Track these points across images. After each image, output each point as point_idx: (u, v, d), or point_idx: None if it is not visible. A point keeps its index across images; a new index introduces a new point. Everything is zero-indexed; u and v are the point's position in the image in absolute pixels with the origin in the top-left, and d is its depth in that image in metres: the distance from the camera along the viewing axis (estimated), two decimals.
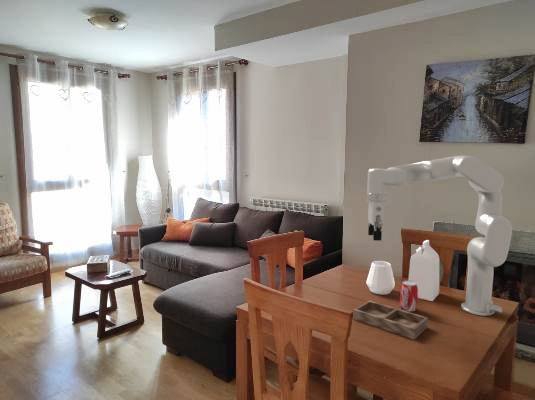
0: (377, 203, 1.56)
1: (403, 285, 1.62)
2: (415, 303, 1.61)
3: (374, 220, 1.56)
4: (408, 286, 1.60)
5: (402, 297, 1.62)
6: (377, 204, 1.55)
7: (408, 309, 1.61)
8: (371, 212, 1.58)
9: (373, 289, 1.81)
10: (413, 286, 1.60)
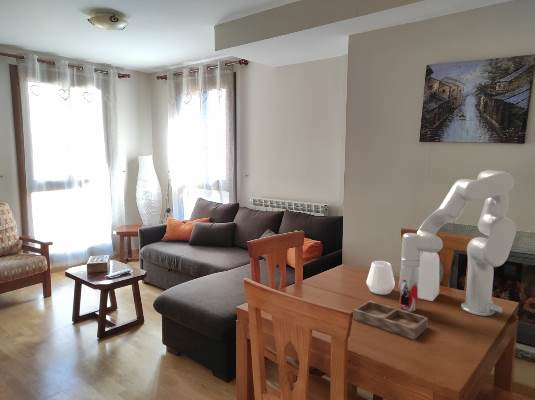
0: None
1: None
2: (415, 303, 1.61)
3: None
4: None
5: None
6: None
7: (408, 309, 1.61)
8: (417, 275, 1.62)
9: (373, 289, 1.81)
10: (413, 286, 1.60)
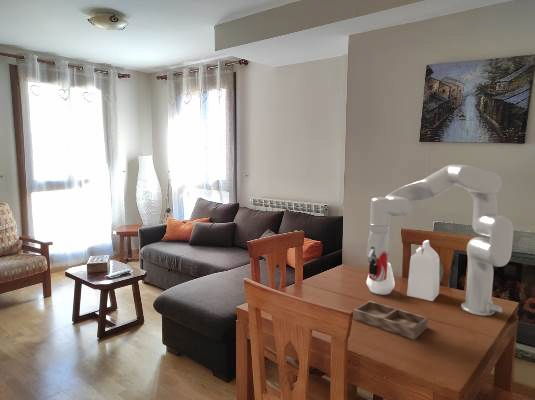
0: None
1: None
2: (384, 272, 1.50)
3: None
4: None
5: None
6: None
7: (377, 278, 1.50)
8: (387, 242, 1.51)
9: (373, 289, 1.81)
10: (382, 254, 1.49)
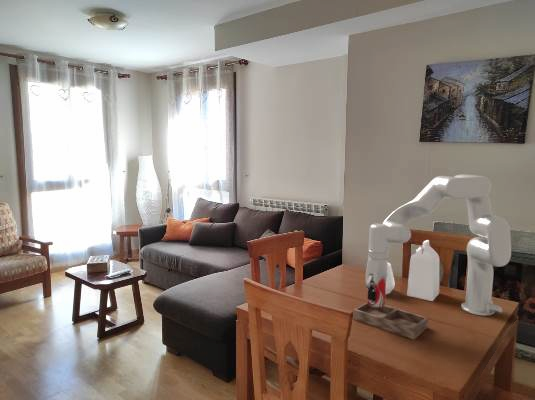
0: None
1: None
2: (382, 298, 1.51)
3: None
4: None
5: None
6: None
7: (375, 304, 1.51)
8: (386, 268, 1.53)
9: None
10: (380, 280, 1.50)
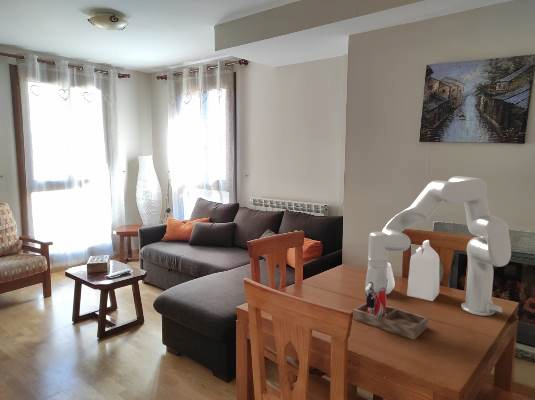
0: None
1: None
2: (383, 309, 1.51)
3: None
4: None
5: None
6: None
7: None
8: (385, 276, 1.53)
9: None
10: (381, 291, 1.51)
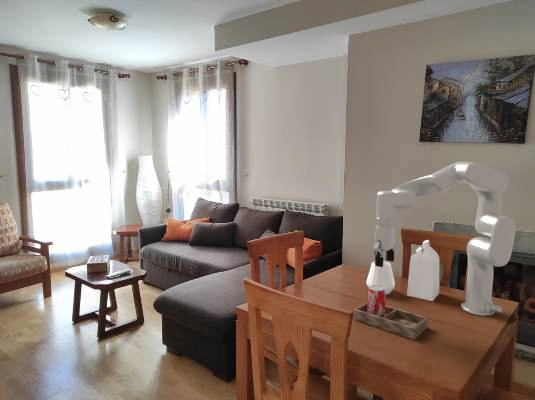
0: None
1: (370, 290, 1.53)
2: (382, 309, 1.51)
3: None
4: (374, 291, 1.51)
5: (369, 303, 1.53)
6: None
7: None
8: (393, 235, 1.52)
9: None
10: (380, 291, 1.51)
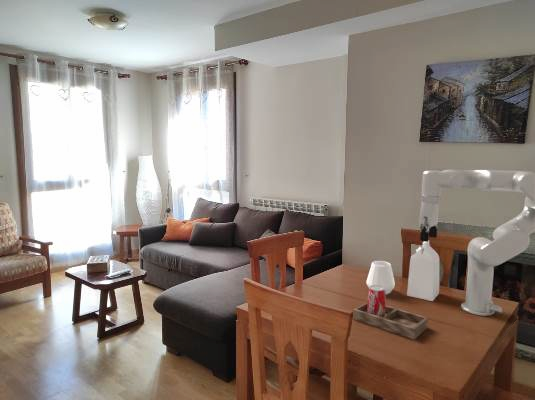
0: None
1: (370, 290, 1.53)
2: (382, 309, 1.51)
3: None
4: (375, 291, 1.51)
5: (369, 303, 1.53)
6: None
7: None
8: (437, 213, 1.62)
9: None
10: (380, 291, 1.51)
